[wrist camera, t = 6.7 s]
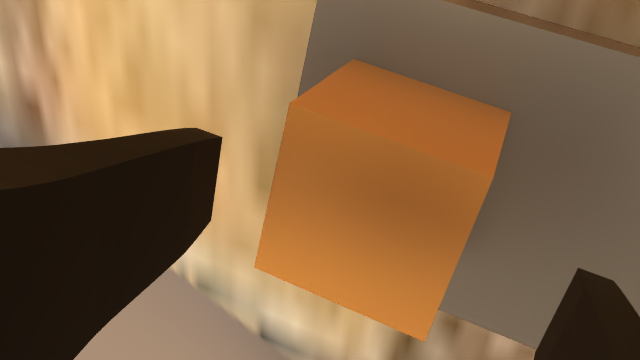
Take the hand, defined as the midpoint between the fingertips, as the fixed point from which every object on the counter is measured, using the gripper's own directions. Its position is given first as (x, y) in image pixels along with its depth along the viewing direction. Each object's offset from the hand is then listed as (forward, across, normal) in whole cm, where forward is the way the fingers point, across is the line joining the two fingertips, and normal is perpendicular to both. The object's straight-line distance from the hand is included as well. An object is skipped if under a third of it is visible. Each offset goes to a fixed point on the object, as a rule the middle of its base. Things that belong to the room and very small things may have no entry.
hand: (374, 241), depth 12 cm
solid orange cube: (+8, +1, +2) cm, 8 cm away
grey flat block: (+9, -2, +2) cm, 10 cm away
